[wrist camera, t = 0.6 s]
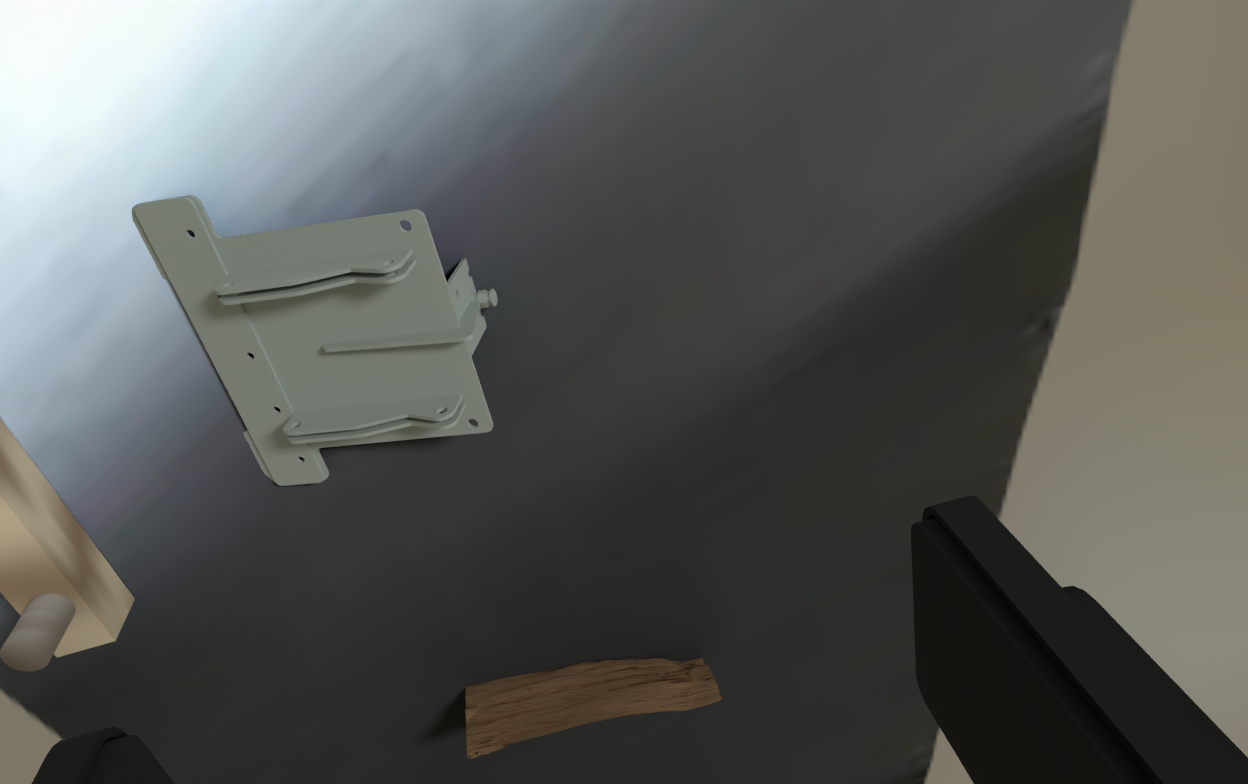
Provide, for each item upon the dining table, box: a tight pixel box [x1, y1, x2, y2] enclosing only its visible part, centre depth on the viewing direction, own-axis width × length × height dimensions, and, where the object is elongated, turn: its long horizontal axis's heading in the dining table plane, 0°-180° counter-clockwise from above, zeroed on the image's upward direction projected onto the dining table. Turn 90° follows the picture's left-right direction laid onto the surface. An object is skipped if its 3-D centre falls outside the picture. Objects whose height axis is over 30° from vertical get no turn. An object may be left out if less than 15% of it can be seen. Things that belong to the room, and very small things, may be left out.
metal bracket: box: [132, 195, 497, 486], centre depth 38 cm, size 14×6×15 cm
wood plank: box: [465, 658, 722, 759], centre depth 51 cm, size 15×2×5 cm, turn 94°
